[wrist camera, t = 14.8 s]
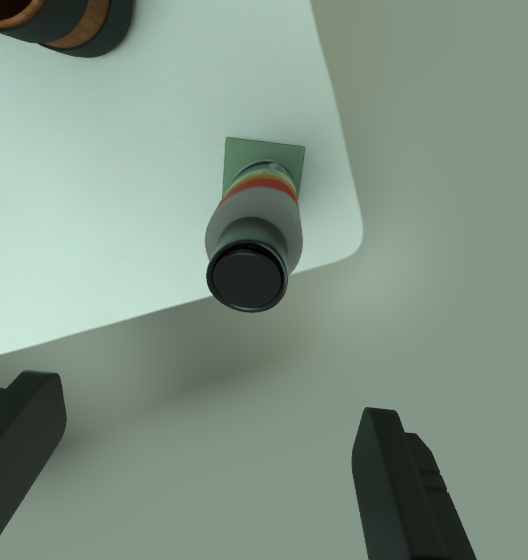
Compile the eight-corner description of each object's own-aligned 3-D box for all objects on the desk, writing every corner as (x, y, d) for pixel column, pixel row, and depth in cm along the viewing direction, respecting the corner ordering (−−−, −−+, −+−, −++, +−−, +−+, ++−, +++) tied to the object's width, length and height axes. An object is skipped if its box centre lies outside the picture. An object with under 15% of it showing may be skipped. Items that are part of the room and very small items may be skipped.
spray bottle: (304, 171, 35) (329, 250, 17) (281, 227, 37) (281, 350, 19) (245, 147, 34) (204, 203, 16) (225, 206, 37) (170, 313, 19)
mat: (226, 137, 35) (225, 138, 34) (304, 146, 35) (305, 147, 34) (221, 223, 38) (220, 225, 37) (292, 231, 38) (292, 233, 37)
